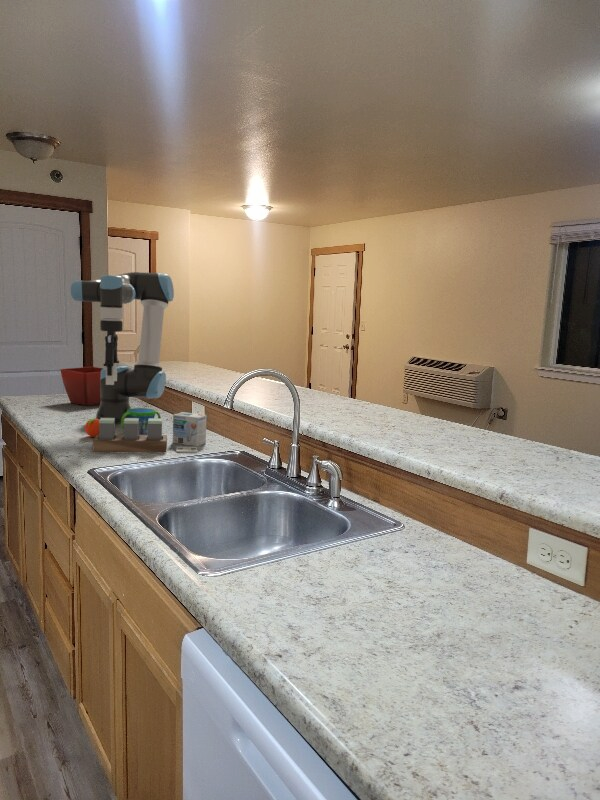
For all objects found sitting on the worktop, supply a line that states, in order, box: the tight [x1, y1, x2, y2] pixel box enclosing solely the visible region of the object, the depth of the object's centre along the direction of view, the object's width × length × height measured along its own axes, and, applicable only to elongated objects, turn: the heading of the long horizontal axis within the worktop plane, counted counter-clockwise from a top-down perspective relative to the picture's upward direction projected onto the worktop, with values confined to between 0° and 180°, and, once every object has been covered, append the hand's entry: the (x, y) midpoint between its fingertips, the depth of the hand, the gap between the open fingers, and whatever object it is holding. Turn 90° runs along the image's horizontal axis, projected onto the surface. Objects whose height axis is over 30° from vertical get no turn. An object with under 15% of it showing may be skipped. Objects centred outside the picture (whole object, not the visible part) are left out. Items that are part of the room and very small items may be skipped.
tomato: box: [84, 417, 99, 438], centre depth 223 cm, size 8×7×7 cm
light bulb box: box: [172, 411, 208, 447], centre depth 221 cm, size 11×7×11 cm, turn 70°
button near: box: [99, 418, 116, 439], centre depth 205 cm, size 5×5×7 cm
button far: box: [148, 417, 163, 440], centre depth 209 cm, size 5×5×7 cm
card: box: [176, 446, 198, 454], centre depth 210 cm, size 6×7×1 cm
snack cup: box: [120, 407, 162, 435], centre depth 228 cm, size 16×10×10 cm
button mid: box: [123, 418, 139, 440], centre depth 207 cm, size 5×5×7 cm
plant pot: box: [60, 366, 104, 406], centre depth 294 cm, size 19×19×17 cm
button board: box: [92, 434, 168, 453], centre depth 208 cm, size 10×24×4 cm, turn 101°
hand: (111, 382), depth 215 cm, fingers open, 9 cm apart
